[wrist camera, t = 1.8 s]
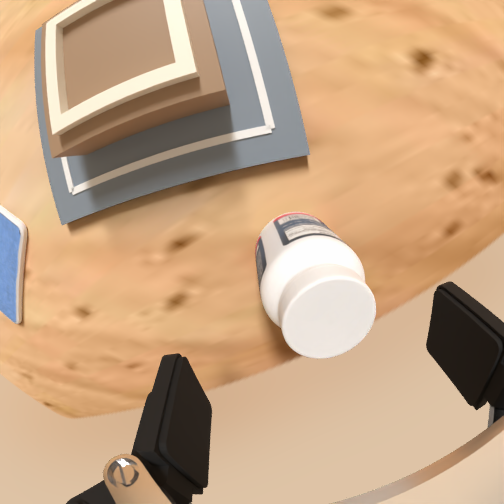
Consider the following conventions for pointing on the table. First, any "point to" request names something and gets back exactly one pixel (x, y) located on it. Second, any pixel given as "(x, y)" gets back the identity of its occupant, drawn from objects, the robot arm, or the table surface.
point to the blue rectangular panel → (12, 264)
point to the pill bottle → (313, 286)
